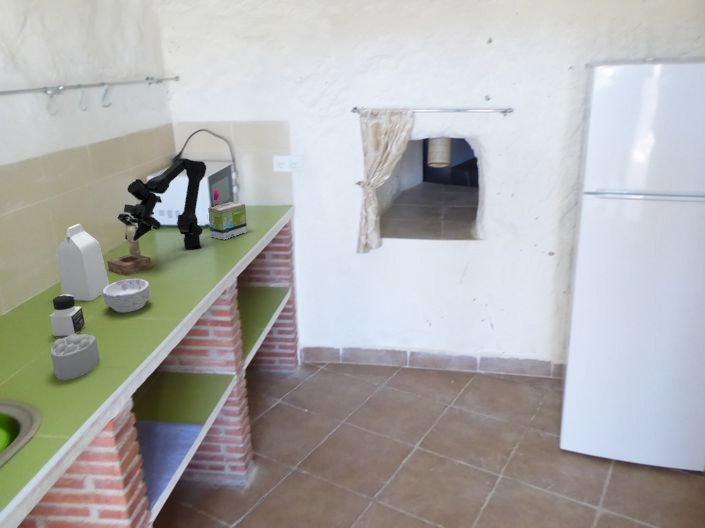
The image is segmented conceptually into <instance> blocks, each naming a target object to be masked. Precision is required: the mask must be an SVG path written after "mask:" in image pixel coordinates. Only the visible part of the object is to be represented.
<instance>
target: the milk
mask: <svg viewBox="0 0 705 528" xmlns="http://www.w3.org/2000/svg"><path fill="white" fill-rule="evenodd" d="M101 248H102V247H101V244H100V242H98V240H97V239H96V238H94V236H92V235H91V234H89V233H88V232H86V231H85V230H84V227H83V226H82V224H81V223H77V224H74V225H72V226H70V227H67V229H66V235H65V238H64V239H63V240H62V241H61V243H60V244H59V245H58V246H57V248H56V250H55V254H56V262H57V266H58V274H59V275H58V276H59V280H60V282H59V283H60V287H61V292H62V293H61V295H65V294H68V295H72V296H73V297H74V301H84V302H85V301H87V302H88V301H89V302H92V301H93V300H95V299H96V298H97V299H98V297H99V296H101V295H103V289H104V288H105V287H106V286H108V285H109V284H110V280H109V278H108V274H107V268H106V264H105V262H104V261H105V260H104V258H103V253H102V249H101Z"/></svg>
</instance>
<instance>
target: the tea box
mask: <svg viewBox="0 0 705 528" xmlns="http://www.w3.org/2000/svg"><path fill="white" fill-rule="evenodd" d="M246 210H247V209H246V204H245V203H241V202H235V201H229V202H225V203H222V204H218V205H217V206H214V207H210V206H209V207H208V208H207V211H208V213H209V220H208V221H209V223H210V224H209V223H208V224H209V233H210V238H212V237H214V238H213V239H216V238H218V239H217V240H220V239H224V240H223V241H226V240H229V239H231V238H230V237H232V238H234V237H233V236H235V237H237V236H236V235H239V234H241V233H244V232H247V233H248V227H247V226H248V224H247V214H246V213H247V211H246ZM239 236H240V235H239ZM228 238H229V239H228ZM225 239H226V240H225Z"/></svg>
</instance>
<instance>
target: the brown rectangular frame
mask: <svg viewBox="0 0 705 528" xmlns="http://www.w3.org/2000/svg"><path fill="white" fill-rule="evenodd" d="M107 267H108V271H111V272H113V273H116V274H119V275H123V276H129V275H132V274H135V273H138V272H140V271H143V270H146V269H150V268H152V261H151V257H148V256H145V255H142V254H140V255H138V256H130V253H129V254H125V255H122V256H119V257H116V258H113V259H109V260H107ZM149 267H150V268H149Z"/></svg>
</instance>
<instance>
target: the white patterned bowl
mask: <svg viewBox="0 0 705 528" xmlns="http://www.w3.org/2000/svg"><path fill="white" fill-rule="evenodd" d="M102 295H103V300H104V305H105V306H106V307H109V308H112V310H114V311H115V312H117V313H130V312H135V311H137V310H140V309H142V308H143V307H144V306H145V305H146V302H147V301H149V299H150V298H151V297H152V293H151V289H150V283H149V281H147V280H146V279H142V278H128V279H121V280H118V281H115V282H112V283H109V285H108V286H106V287H105V288H104V289H103V294H102Z"/></svg>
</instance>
